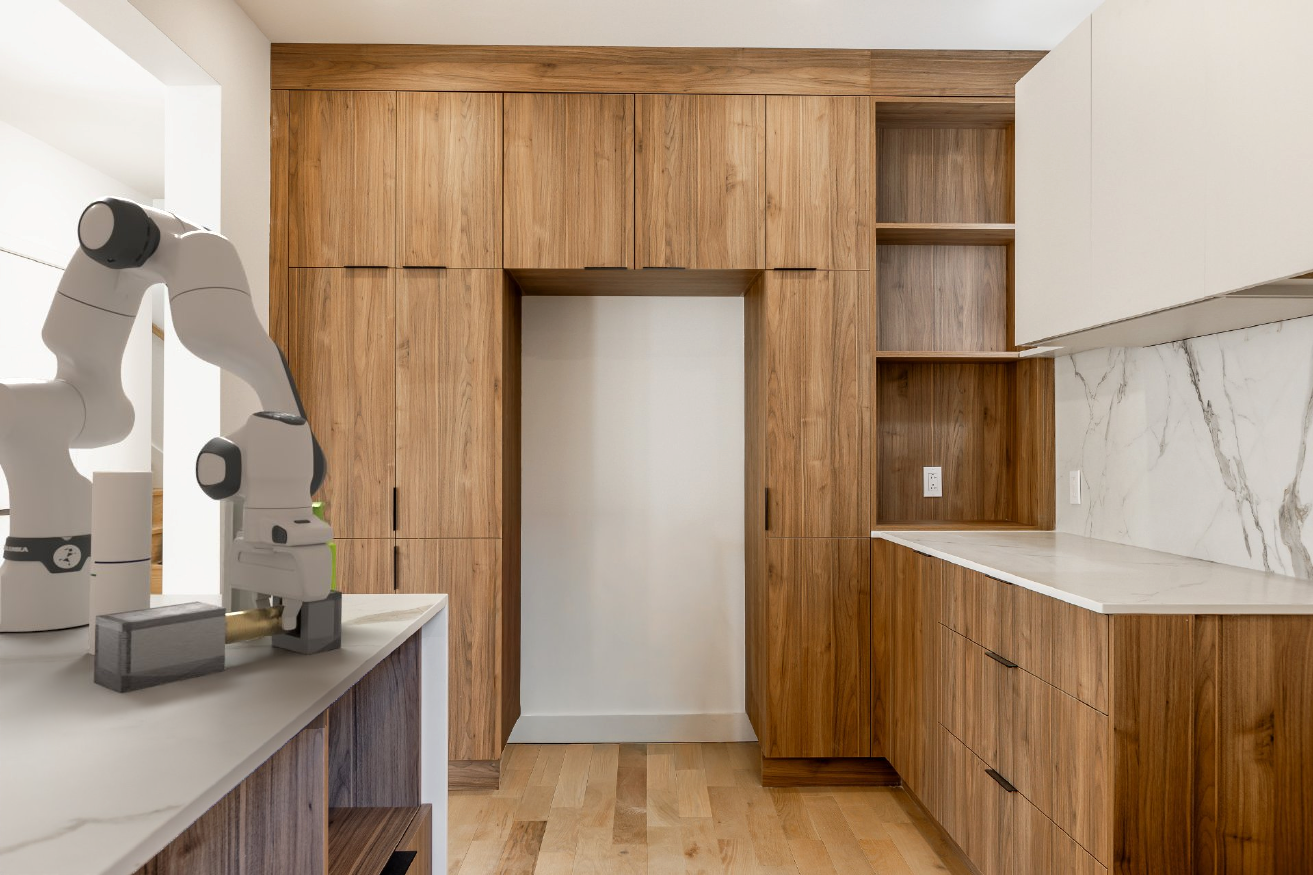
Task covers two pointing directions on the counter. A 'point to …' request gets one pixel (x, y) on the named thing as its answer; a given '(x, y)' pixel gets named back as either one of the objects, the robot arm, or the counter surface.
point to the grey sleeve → (159, 645)
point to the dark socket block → (314, 626)
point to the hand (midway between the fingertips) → (276, 626)
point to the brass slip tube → (256, 624)
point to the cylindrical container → (120, 544)
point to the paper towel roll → (231, 525)
